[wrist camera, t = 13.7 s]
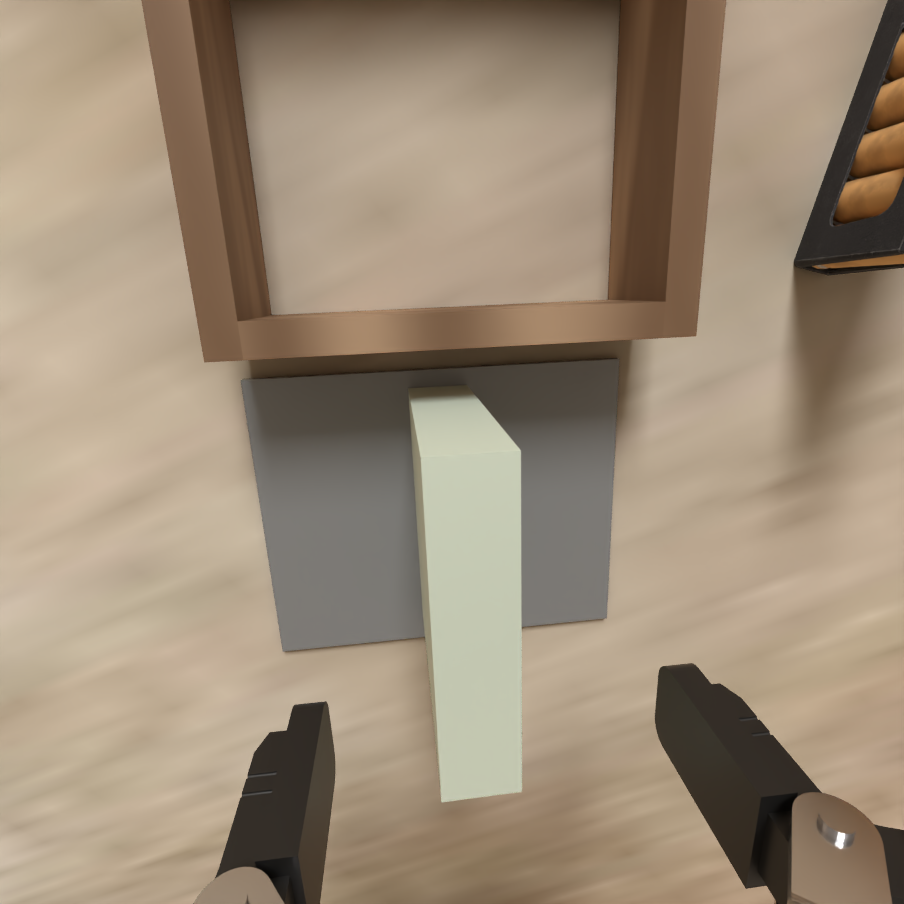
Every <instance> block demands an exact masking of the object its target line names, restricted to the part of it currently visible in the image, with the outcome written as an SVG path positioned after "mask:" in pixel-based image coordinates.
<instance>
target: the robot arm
mask: <svg viewBox="0 0 904 904" xmlns="http://www.w3.org/2000/svg"><path fill="white" fill-rule="evenodd" d="M655 724H656V730H657V734H658V737H659V740H660V742H661V744H662V746H663V748H664V750H665V751H666V753H667V755H668V757H669V758H670V760H671V762H672V763H673V765H674V767H675V768H676V770H677V772H678V774H679V775H680V777H681V779H682V780H683V782H684V784H685V786H686V787H687V789H688V791H689V792H690V794H691V796H692V797H693V799H694V801H695V803H696V804H697V806H698V808H699V809H700V811H701V813H702V815H703V816H704V818H705V820H706V821H707V823H708V825H709V826H710V828H711V830H712V832H713V833H714V835H715V837H716V838H717V840H718V842H719V844H720V845H721V847H722V849H723V850H724V852H725V854H726V855H727V857H728V859H729V861H730V862H731V864H732V866H733V867H734V869H735V871H736V873H737V874H738V876H739V878H740V879H741V881H742V883H743V885H744V886H745V888H746V889H747V888H754V887H760V886H767V887H768V889H769V890H770V892H771V893H772V895H773V897H774V898H775V901H774V904H904V830H900V829H894V828H888V827H883V826H878V825H874V824H873V823H872V822H871V821H870V820H869V819H868V818H867V817H866V816H865V815H864V814H863V813H862V812H861V811H859V810H858V809H857V808H855V807H854V806H852V805H851V804H849V803H847V802H845V801H844V800H842V799H839V798H837V797H835V796H832V795H828V794H824V793H822V792H821V791H820V790H819V789H818V788H817V787H816V786H815V784H814V783H813V782H812V781H811V780H810V778H809V777H808V776H807V775H806V774H805V773H804V771H803V770H802V769H801V768H800V767H799V765H798V764H797V763H796V762H795V761H794V760H793V758H792V757H791V756H790V755H789V754H788V753H787V751H786V750H785V749H784V748H783V747H782V745H781V744H780V743H779V742H778V741H777V740H776V738H775V737H774V736H773V735H770V733H769V730H768V729H767V728H766V727H765V725H764V724H763V723H762V722H761V721H760V720H758V719H757V716H756V715H755V714H754V712H753V711H752V710H751V709H750V708H749V707H748V705H747V704H746V703H745V702H744V701H743V699H742V698H740V697H739V696H737V695H736V694H735V693H733V692H732V691H730V690H729V689H727V688H726V687H724V686H723V685H721V684H711V683H710V682H709V681H708V679H707V678H706V677H705V676H704V675H703V673H702V672H701V671H700V670H699V668H698V667H697V666H696V665H694V664H692V663H690V664H680V665H671V666H663V667H661V668H660V670H659V675H658V687H657V698H656V710H655ZM334 784H335V753H334V745H333V737H332V730H331V723H330V715H329V708H328V704H327V702H317V703H308V704H299V705H294V706H293V709H292V712H291V716H290V720H289V724H288V728H287V731H278V732H270V733H269V734H268V735H267V737H266V738H265V739H264V741H263V742H262V743H261V745H260V746H259V747H258V748H257V750H256V751H255V752H254V755H253V759H252V762H251V765H250V769H249V772H248V778H247V779H246V782H245V785H244V788H243V791H242V798H240V801H239V805H238V808H237V811H236V814H235V818H234V821H233V824H232V828H231V831H230V834H229V837H228V841H227V844H226V847H225V851H224V854H223V857H222V860H221V864H220V867H219V870H218V872H217V875H216V877H215V879H214V880H213V881H212V882H210V883H209V884H208V885H207V886H206V887H205V888H204V889H203V890H202V892H201V893H200V894H199V895H198V897H197V898H196V900H195V901H194V903H193V904H320V898H321V890H322V882H323V873H324V865H325V857H326V849H327V841H328V833H329V825H330V817H331V809H332V800H333V792H334Z"/></svg>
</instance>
